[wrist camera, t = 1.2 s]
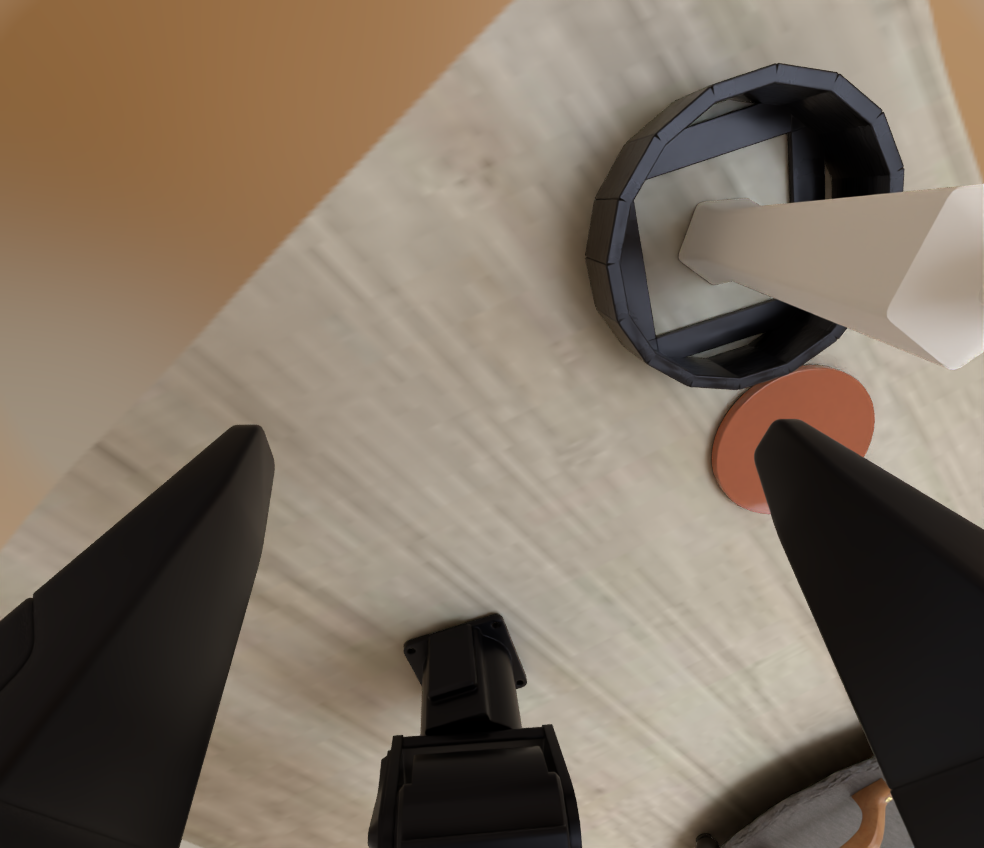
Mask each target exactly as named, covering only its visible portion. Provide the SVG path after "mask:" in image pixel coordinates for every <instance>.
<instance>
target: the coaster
mask: <svg viewBox="0 0 984 848" xmlns="http://www.w3.org/2000/svg"><path fill="white" fill-rule="evenodd" d="M778 419H799V420H802V421H804V422H805V423H807V424H809V425H810V426H812V427H814V428H815V429H817V430H819V431H820V432H822V433H824V434H825V435H827V436H829V437H830V438H832V439H834V440H835V441H837V442H839V443H840V444H842V445H844V446H845V447H847V448H849V449H850V450H852V451H854V452H855V453H857V454H859V455H860V456H862V457H864V456H865V454H866V452H867V450H868V447H869V445H870V442H871V439H872V435H873V431H874V423H875V417H874V408H873V403H872V401H871V398H870V396H869V394H868V392H867V391H866V389H865V388H864V387H863V385H862V384H861V383H860V382H859V381H858V380H856V379H855V378H854V377H852V376H851V375H849V374H847V373H845V372H842V371H840V370H838V369H835V368H831V367H828V366H821V365H805V366H801V367H799V368H798V369H796V370H795V371H793V372H792V373H789V374H788V375H785V376H782V377H778V378H775V379H772V380H769V381H766V382H763V383H759V384H756V385H754V386H753V387H751V388H750V389H749V390H748V391H746V392H745V393H744V394H743V395H742V396H741V397H740V398H739V399H738V400H737V401H736V402H735V403H734V405H733V406H732V407H731V408H730V410H729V411H728V413H727V414H726V416H725V417H724V419H723V420H722V422H721V424H720V426H719V428H718V431H717V433H716V436H715V439H714V443H713V448H712V468H713V473H714V476H715V479H716V481H717V483H718V485H719V486H720V488H721V489H722V491H723V492H724V493H725V494H726V495H727V496H728V497H729V498H730V499H731V500H732V501H733V502H735V503H736V504H737V505H739V506H741V507H743V508H745V509H747V510H750V511H753V512H757V513H764V514H771V513H770V510H769V507H768V504H767V500H766V497H765V494H764V491H763V488H762V485H761V481H760V478H759V475H758V472H757V469H756V466H755V462H754V453H755V449H756V448H757V446H758V444H759V443H760V441H761V439H762V438H763V436H764V435H765V433H766V431H767V430H768V428H769V426H770V425H771V424H772V423H773V422H774V421H775V420H778Z"/></svg>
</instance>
